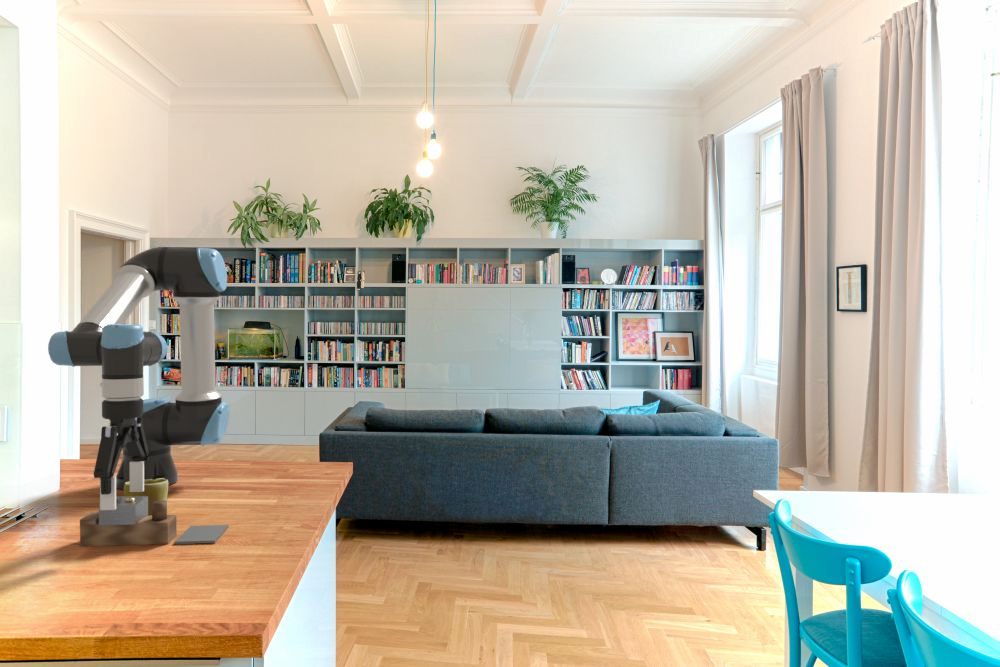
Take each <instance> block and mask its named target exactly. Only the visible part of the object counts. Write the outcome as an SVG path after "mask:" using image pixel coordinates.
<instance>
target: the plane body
mask: <svg viewBox="0 0 1000 667" xmlns="http://www.w3.org/2000/svg"><path fill="white" fill-rule="evenodd" d="M176 537H177V514H168V501H155V502H153V503H152V515H151V516H146V517H144V518H143V519H142V520H141V521H139V522H138V523H137V524H133V525H99V511H92V512H90V513H88V514H87V515H85V516H84V517H82V518H81V519H79V542H80V543H79V544H80V545H79V546H80V547H103V546H106V547H107V546H109V547H110V546H138V545H139V546H140V545H142V546H143V545H168V544H169V543H170V542H172V541H173V540H174V539H175V538H176Z"/></svg>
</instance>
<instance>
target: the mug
mask: <svg viewBox="0 0 1000 667" xmlns="http://www.w3.org/2000/svg"><path fill="white" fill-rule="evenodd" d="M168 493H169V485H168V480H167V479H164V478H159V479H156V480H152V479H148V480H144V491H143V492H130V481H129V482H126V483H125V485H124V490H123V497H126V496H148V515H147V516H151V515H152V503H153V502H155V501H167V500H168ZM167 502H168V501H167Z"/></svg>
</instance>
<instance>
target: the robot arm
mask: <svg viewBox="0 0 1000 667" xmlns="http://www.w3.org/2000/svg"><path fill="white" fill-rule="evenodd" d="M227 284H228V272H227V267H226V264H225V260H224V258H223V256H222V254H221V253H220V252H219V251H218V250H217V249H214V248H208V247H183V246H182V247H174V246H173V247H171V246H170V247H169V246H168V247H167V246H158V247H152V248H148V249H145V250H143V251H141V252H140V253H138V254H136V255H134V256H132V257H130V258H129V259H127V260H126V261H125V262H123V264H122V265H121V266H120V267H119V268H118V269H117V270H116V272H115V274H114V281H113V282H112V283H111V284H110V286H108V288H107V289H106V290H105V291H104V292H103V294H102V295H101V297H99V299H98V300H97V301H96V302H95V304H93V306H92V307H91V309H89V310H88V312H87V313H86V314H85V315H84V317H83V318H82V319H81V320H80V321H79V323H78V324H77V325H76V326H75V327H74V328H73V329H72V330H71V331H69V330H64V331H57V332H55V333H54V334H52V335H51V336H50V339H49V340H48V346H47V348H48V349H47V350H48V355H49V359H50V360H51V362H52V363H53V364H55V365H57V366H67V367H68V366H69V367H70V366H71V367H74V368H75V367H101V380H102V381H101V382H100V385H99V386H100V387H101V397H102V398H103V401H101V417H102V419H104V420H109V426H102V427H101V435H100V436H101V437H100V442H99V448H98V451H97V455H96V456H97V457H96V460H95V461H96V462H95V465H94V470H93V477H94V478H95V479H99V506H100V510H115V509H116V497H117V489H118V490H123V491H124V485H125V483H126V482H129V481H130V492H143V491H144V480H148V479H152V480H156V479H159V478H164V479H167V480H168V486H171V485H174V484H175V483H177V482H178V480H179V474H178V470H177V467H176V464H175V462H174V459H173V456H172V453H171V452H172V451H171V450H172V449H171V446H202V447H203V446H208V445H209V446H210V445H218V444H219V443H220V442H221V441H222V440H223V439H224V437H225V435H226V433H227V429H228V426H229V425H228V424H229V421H230V408H229V406H230V405H229V404H228V403H227V402H225V401H222V394H221V393H220V392H219V391H217V388H216V349H215V348H216V347H215V343H216V341H215V340H216V339H215V336H216V335H215V304H216V302H218V300H219V299H220V298H221V293H222V292H224V291H225V290H226V289H227V287H228V285H227ZM154 291H155V292H156V291H172V298H173V299H174V300H175V301H176V302H177V303H178V304H179V336H180V337H179V338H180V341H179V342H180V344H179V345H180V380H181V382H180V383H181V384H180V386H181V388H180V389H181V391H180V392H179V393H178V394H177V395H176V396H175V402H172V400H171V398H170V397H168V396H161V397H151V398H145V399H143V398H141V397H143V396H144V394H145V393H144V390H145V389H144V387H145V386H144V367H147V366H148V367H151V366H154V365H155V364H157V363H159V362H161V361H162V360H164V358H165V357H166V356H167V353H168V344H167V342H166V340H165V338H164V337H163V336H162V335H161V334H159V333H157V332H152V331H144V329H143V328H144V327H143V326H142V325H140V324H138V323H137V324H136V323H133V324H131V323H125V322H126V321H127V320H128V318H129V317H130V316H131V315H132V313H133V312H134V310H135V309H136V308H137V306H138V305H139V303H141V301H142V300H143V298H147V297H149V296H150V295H151V294H152V293H153V292H154ZM121 454H122V459H121V462H120V466H119V467H118V462H119V460H120V457H121ZM117 467H118V470H117V469H116V468H117ZM116 470H117V473H116ZM115 473H116V476H114V475H115Z"/></svg>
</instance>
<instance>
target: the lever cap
mask: <svg viewBox="0 0 1000 667" xmlns="http://www.w3.org/2000/svg"><path fill="white" fill-rule="evenodd" d="M98 512H99V525H133V524H137V523H138V522H139V521H141V520H142V519H143V518H144V517H146V516H147V515H148V496H126V497H124V496H123V495H121V496H117V495H116V509H115V510H100V505H98Z"/></svg>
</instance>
